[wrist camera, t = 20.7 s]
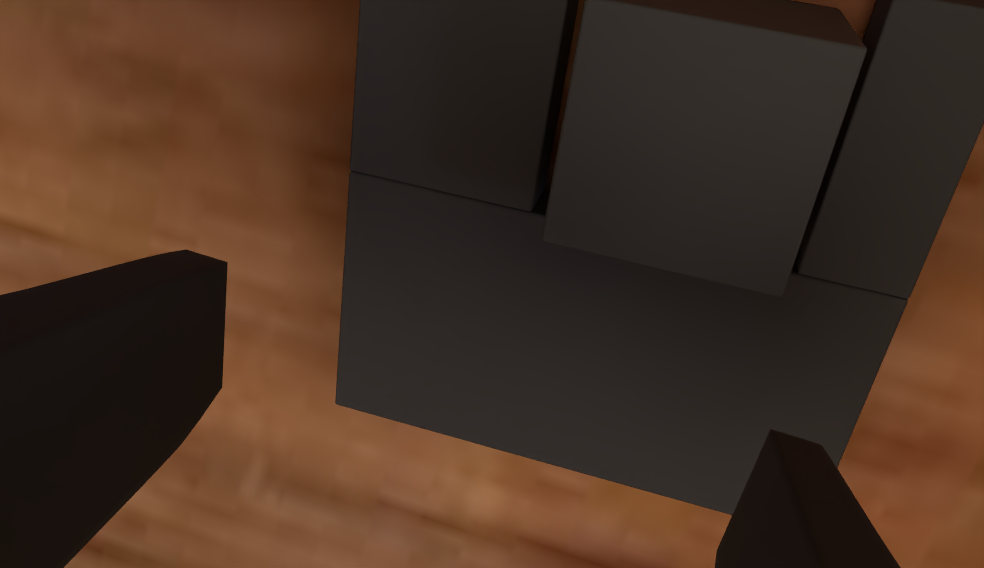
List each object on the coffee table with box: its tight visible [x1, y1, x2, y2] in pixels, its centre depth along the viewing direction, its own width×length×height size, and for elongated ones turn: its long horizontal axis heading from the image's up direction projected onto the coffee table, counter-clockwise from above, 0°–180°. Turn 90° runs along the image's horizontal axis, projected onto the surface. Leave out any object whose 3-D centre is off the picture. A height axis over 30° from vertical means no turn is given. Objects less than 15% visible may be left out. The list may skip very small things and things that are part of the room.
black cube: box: [542, 0, 867, 297], centre depth 16 cm, size 4×4×4 cm
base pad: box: [335, 0, 984, 515], centre depth 19 cm, size 12×12×2 cm
